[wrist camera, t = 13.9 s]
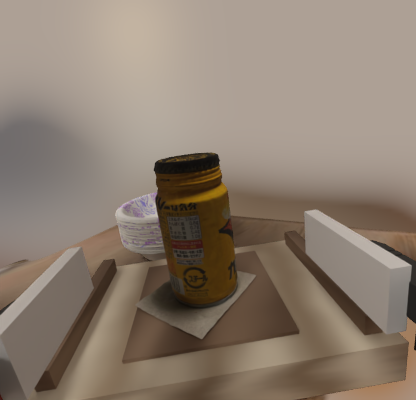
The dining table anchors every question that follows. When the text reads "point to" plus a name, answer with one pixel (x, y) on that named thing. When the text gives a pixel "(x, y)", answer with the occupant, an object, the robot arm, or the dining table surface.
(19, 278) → the dining table surface
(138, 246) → the paper bowls
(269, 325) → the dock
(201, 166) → the condiment
